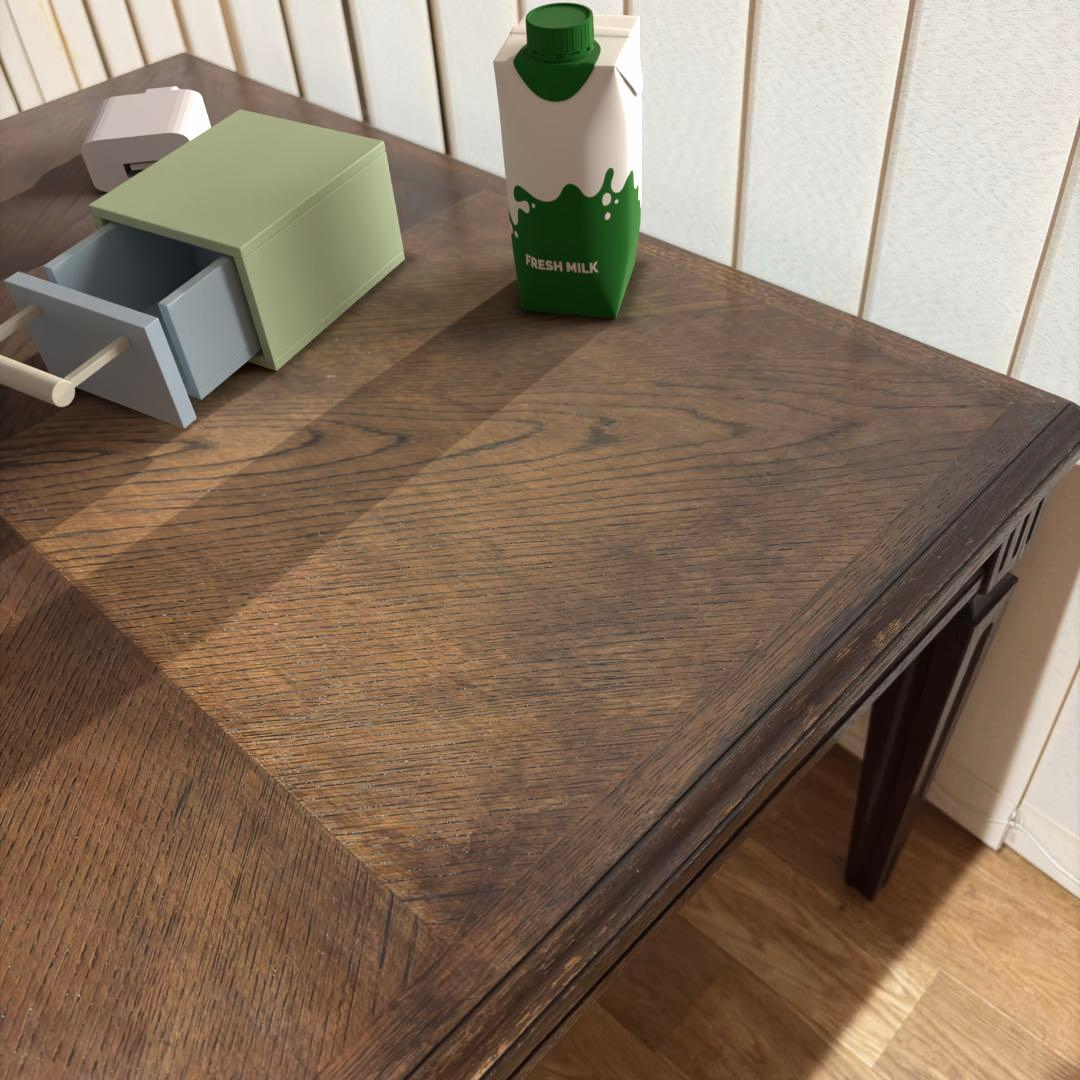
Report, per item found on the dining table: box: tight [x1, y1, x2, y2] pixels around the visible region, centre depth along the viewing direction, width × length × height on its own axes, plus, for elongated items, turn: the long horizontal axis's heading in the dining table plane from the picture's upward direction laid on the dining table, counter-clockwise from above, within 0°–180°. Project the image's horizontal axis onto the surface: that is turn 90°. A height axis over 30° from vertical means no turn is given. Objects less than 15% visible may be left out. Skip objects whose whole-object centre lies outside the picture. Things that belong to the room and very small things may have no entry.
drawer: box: [0, 221, 262, 429], centre depth 70 cm, size 21×12×8 cm, turn 150°
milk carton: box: [492, 2, 644, 320], centre depth 71 cm, size 9×9×20 cm
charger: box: [80, 85, 212, 193], centre depth 97 cm, size 5×9×15 cm
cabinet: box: [88, 109, 406, 372], centre depth 77 cm, size 16×14×10 cm
